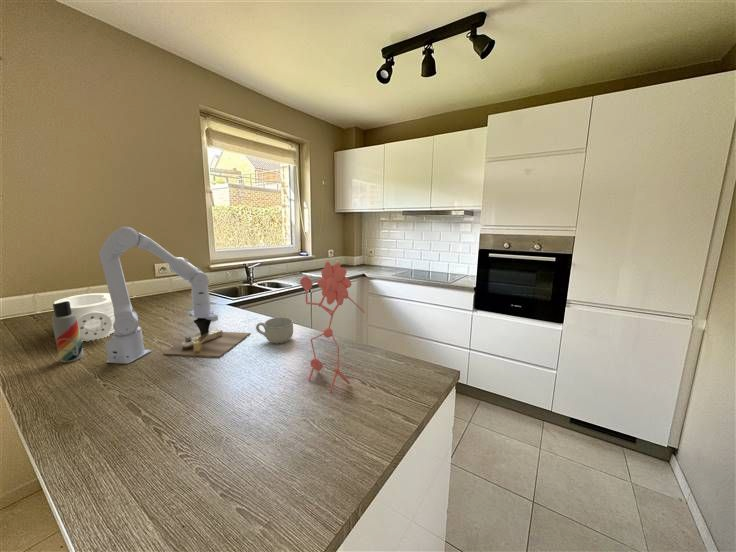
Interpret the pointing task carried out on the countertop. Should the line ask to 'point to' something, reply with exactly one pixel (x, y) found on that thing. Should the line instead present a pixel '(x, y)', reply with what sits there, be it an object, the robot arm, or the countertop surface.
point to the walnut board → (211, 345)
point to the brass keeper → (199, 344)
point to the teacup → (277, 329)
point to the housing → (92, 314)
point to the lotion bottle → (66, 333)
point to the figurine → (332, 289)
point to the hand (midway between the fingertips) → (205, 335)
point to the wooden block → (189, 341)
